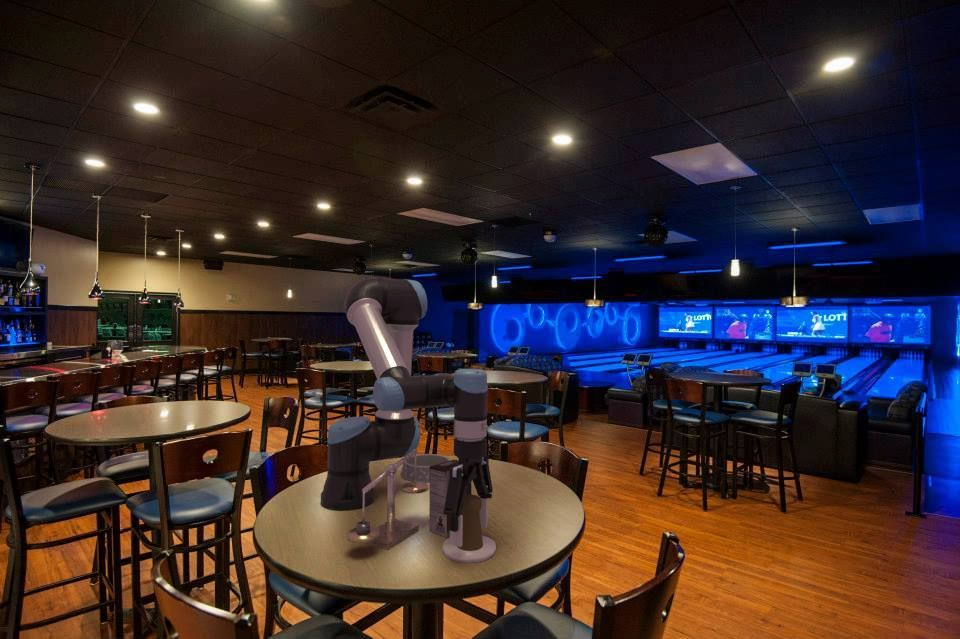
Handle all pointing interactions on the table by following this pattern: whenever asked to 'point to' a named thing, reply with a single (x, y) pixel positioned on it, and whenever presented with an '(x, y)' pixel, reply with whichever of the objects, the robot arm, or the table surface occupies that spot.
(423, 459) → the dog bowl
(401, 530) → the balance
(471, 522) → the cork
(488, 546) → the dish
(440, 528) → the coffee box
